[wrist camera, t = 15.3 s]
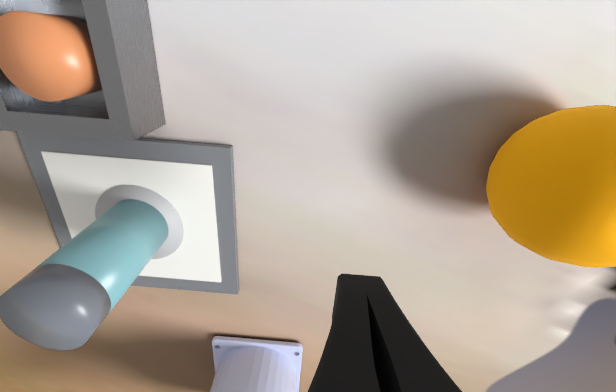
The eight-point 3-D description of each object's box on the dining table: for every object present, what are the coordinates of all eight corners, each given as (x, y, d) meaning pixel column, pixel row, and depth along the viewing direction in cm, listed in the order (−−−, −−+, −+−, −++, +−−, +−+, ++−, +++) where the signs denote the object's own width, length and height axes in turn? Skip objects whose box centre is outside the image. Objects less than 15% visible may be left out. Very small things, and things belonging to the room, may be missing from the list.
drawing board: (239, 289, 24) (236, 296, 23) (77, 276, 24) (71, 282, 24) (232, 145, 18) (229, 149, 18) (22, 128, 19) (12, 131, 18)
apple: (452, 214, 20) (516, 300, 13) (490, 90, 16) (604, 125, 10) (573, 221, 20) (698, 311, 13) (638, 98, 16) (855, 139, 10)
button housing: (165, 124, 18) (134, 141, 15) (49, 114, 18) (-5, 129, 15) (144, -18, 15) (98, -32, 12) (3, -29, 15) (-79, -46, 12)
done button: (118, 96, 16) (86, 104, 14) (51, 90, 16) (10, 98, 14) (101, 18, 14) (62, 14, 12) (27, 12, 14) (-24, 7, 12)
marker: (172, 250, 22) (99, 353, 15) (116, 245, 22) (16, 346, 15) (163, 201, 20) (75, 292, 13) (103, 196, 20) (-20, 285, 13)
